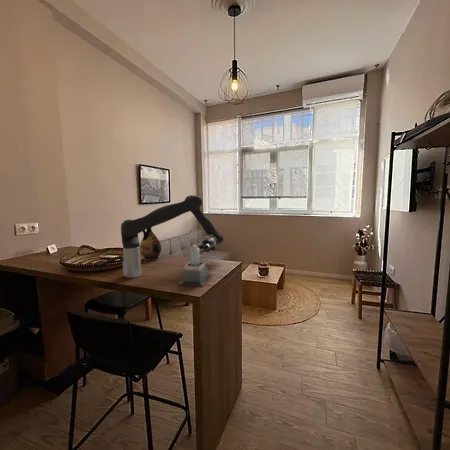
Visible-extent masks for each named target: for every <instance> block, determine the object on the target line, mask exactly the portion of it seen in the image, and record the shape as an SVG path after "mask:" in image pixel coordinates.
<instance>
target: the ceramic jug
mask: <svg viewBox="0 0 450 450" xmlns="http://www.w3.org/2000/svg"><path fill="white" fill-rule="evenodd" d="M152 228H153V227H150V228H148V229H146V230H144V231H142V234H143V236H142V239H141V241H140V242H139V243H140V256H142V257H143V258H144V260H145V261H155V260H158V259H159V256H160V254H161V252H162V245H161V244H162V243H161V242H160V240H159V238H158V237H157V236H156V234H155V233H154V232H153V231H152Z"/></svg>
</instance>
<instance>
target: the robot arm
mask: <svg viewBox="0 0 450 450" xmlns="http://www.w3.org/2000/svg"><path fill="white" fill-rule="evenodd" d="M202 200H203V199H202V198H201V197H200V196H199V195H196V194H191V195H188V196H186V197H185V198H184V200H183V201H181V202H180V201H179V202H177V203H173V204H166V205H163V206H162V207H158V208H156V209H154V210H153V211H150V213H148V214H146V215H145V216H142V217H139V218H136V219H126V220H123V222H121V224H120V234H121V243H122V253H123V259H122V271H123V272H122V273H123V277H126V278H128V279H130V278H138V277H140V276H142V262H141V261H142V260H141V259H142V258H141V253H140V243H141V242H140V240H139V234H140V233H143V231H144V230H145V231H146V230H147V229H148V228H150V227H152V228H153V227H155V226H158V225H161V224H164V223H166V222H169V221H171V220H173V219H175V218H177V217H180V216H181V215H183V214H186V213H189V212H191V213H192V215H193V216H194V217H195V218H196V220H197V221H198V223H199V224H200V226H201V227H202V229H203V231H204V232H205V234H206V235H207V236H209V237H207V238H206V239H204V240H202V241H201V243H199V244H197V243H195V244H194V245H197V248H199V251H203V252H206V253H209V252H212V251H213V252H214V251H215V250H217V245H219V244H222V243H223V242H224V236H223V234H222V233H221V232H220V231H218V229H216V228H215V225H213V223H212V221H211V220H210V218H209V217H208V216H207V215H206V214H205V213H204V212H203V211H202V209H201V207H202V204H203V201H202Z"/></svg>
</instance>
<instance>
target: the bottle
mask: <svg viewBox="0 0 450 450" xmlns="http://www.w3.org/2000/svg"><path fill="white" fill-rule="evenodd" d="M197 245H198V244H197ZM197 245H195V244H192V245H191V248H189V260H190V261H189V262H190V266H200V262H201V261H200V250H199V249H200V248H197Z"/></svg>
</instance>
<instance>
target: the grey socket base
mask: <svg viewBox="0 0 450 450" xmlns="http://www.w3.org/2000/svg"><path fill="white" fill-rule="evenodd" d="M183 268H184V269H183V270H182V271H181V274H182V275H181V276H182V278H181V280H180V281H179V282H178V283H177V286H186V287H187V286H188V287H199V286H200V287H204V286H205V285H206V284H207V283H208V282H210V281H209V280H211V278H212V277H213V275H212V274H208V266H207V265H206V262H204V261H200V266H190V261H189V262H188V263H186V264H185V265H184V267H183ZM200 287H199V288H200Z"/></svg>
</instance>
